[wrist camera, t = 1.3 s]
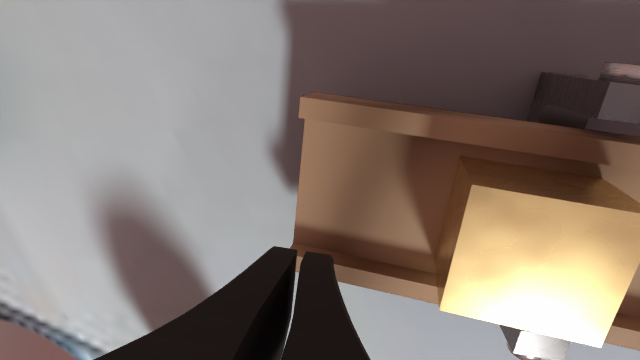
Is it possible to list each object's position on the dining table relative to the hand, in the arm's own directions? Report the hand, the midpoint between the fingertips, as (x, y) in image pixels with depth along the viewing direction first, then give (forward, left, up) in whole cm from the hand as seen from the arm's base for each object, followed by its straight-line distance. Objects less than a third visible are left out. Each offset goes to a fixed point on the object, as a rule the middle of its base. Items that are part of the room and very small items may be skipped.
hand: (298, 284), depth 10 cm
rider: (-7, +3, -6) cm, 10 cm away
